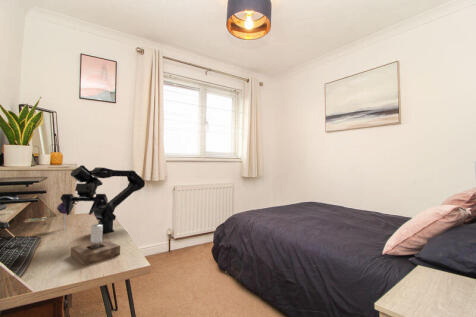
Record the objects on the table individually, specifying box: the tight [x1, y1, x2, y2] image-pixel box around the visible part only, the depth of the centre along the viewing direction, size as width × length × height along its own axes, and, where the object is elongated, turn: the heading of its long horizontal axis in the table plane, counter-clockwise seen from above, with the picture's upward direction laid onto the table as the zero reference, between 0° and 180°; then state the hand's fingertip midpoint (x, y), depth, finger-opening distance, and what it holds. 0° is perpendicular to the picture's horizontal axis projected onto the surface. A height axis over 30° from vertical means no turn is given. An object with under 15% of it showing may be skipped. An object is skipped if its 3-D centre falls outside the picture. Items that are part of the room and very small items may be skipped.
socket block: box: [70, 239, 121, 266], centre depth 92 cm, size 13×13×4 cm
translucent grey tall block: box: [90, 223, 104, 250], centre depth 93 cm, size 4×4×12 cm
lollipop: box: [57, 201, 67, 230], centre depth 127 cm, size 7×7×15 cm
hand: (78, 214), depth 104 cm, fingers open, 9 cm apart
